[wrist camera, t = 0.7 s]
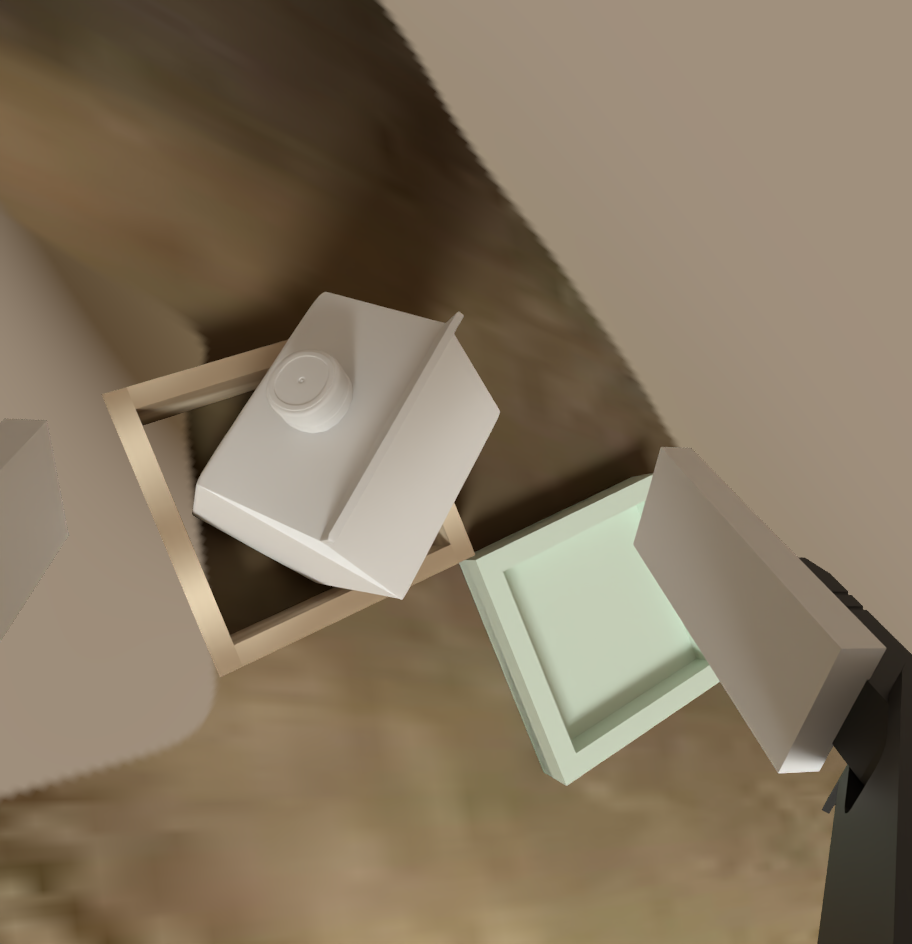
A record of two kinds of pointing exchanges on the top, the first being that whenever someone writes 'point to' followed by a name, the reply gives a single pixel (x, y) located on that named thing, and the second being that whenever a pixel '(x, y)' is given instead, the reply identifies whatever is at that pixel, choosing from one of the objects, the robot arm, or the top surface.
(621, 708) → the tray
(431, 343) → the milk carton
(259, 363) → the holder
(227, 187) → the top surface
